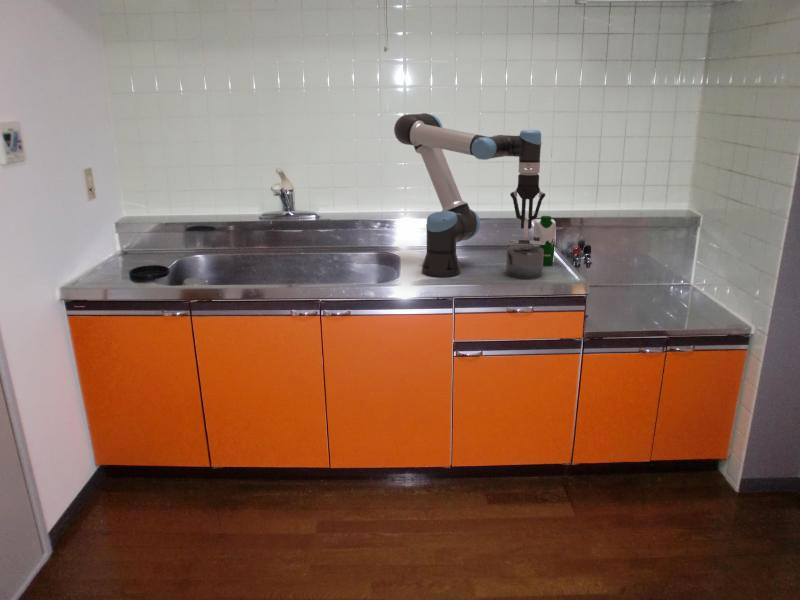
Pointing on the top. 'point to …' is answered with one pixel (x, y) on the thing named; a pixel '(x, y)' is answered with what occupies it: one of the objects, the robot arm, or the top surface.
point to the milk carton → (546, 237)
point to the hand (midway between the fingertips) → (525, 237)
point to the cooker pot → (524, 262)
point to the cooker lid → (527, 241)
